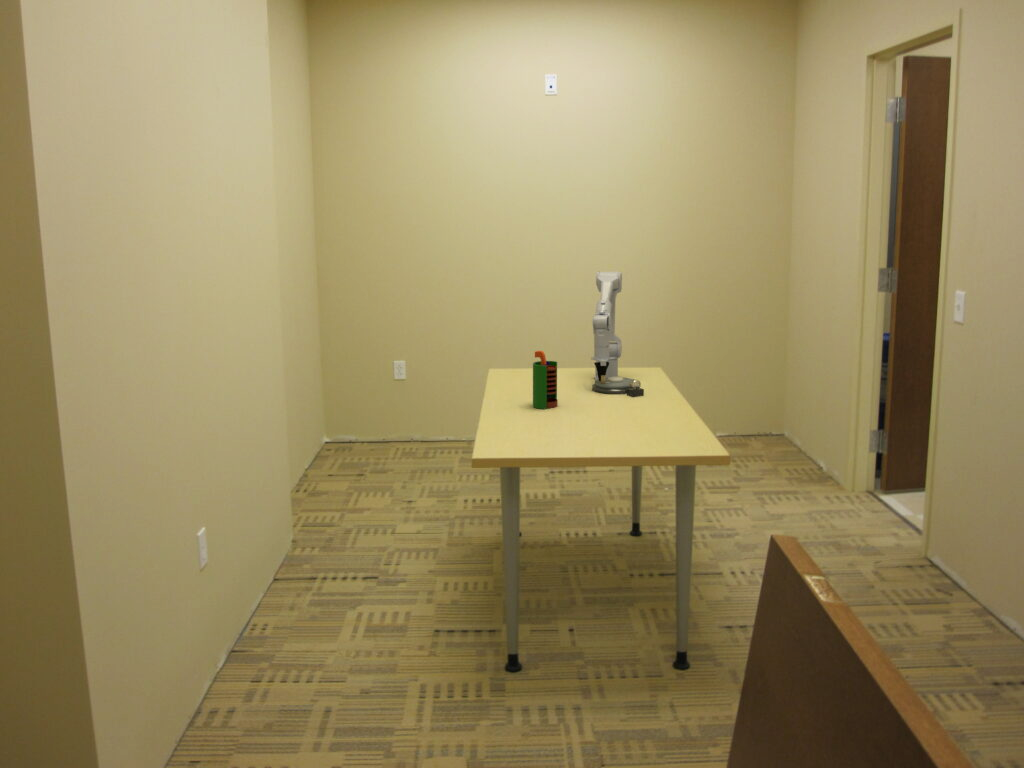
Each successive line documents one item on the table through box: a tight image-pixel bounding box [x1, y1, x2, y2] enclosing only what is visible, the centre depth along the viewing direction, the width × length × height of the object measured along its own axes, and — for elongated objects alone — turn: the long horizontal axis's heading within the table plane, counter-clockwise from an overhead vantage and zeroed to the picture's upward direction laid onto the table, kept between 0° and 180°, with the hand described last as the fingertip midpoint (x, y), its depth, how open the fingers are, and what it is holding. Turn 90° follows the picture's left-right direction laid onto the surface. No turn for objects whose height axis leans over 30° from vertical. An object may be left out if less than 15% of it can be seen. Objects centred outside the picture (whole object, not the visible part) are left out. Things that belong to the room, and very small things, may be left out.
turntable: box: [594, 375, 635, 389], centre depth 348 cm, size 16×16×4 cm
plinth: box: [591, 382, 629, 395], centre depth 349 cm, size 18×18×2 cm
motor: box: [532, 350, 559, 410], centre depth 322 cm, size 10×9×20 cm
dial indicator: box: [626, 379, 645, 398], centre depth 338 cm, size 5×5×6 cm
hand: (601, 380), depth 347 cm, fingers closed, pressing on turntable
